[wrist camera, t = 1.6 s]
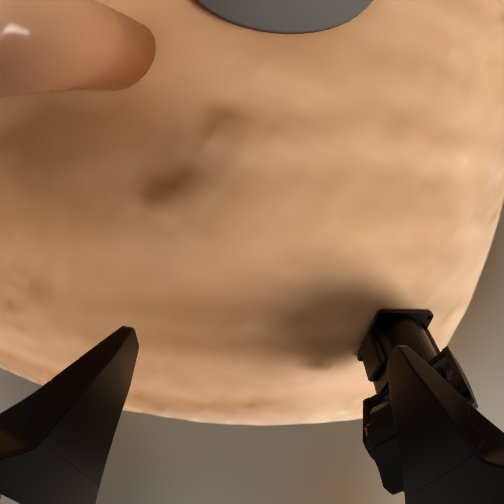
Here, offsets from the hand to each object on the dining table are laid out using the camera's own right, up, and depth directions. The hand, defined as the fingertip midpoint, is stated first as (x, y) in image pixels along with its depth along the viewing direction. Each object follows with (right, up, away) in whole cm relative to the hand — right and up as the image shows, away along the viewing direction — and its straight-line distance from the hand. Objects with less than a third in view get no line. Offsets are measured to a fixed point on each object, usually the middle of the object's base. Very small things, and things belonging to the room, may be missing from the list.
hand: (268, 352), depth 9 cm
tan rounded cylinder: (-9, +16, +5) cm, 20 cm away
